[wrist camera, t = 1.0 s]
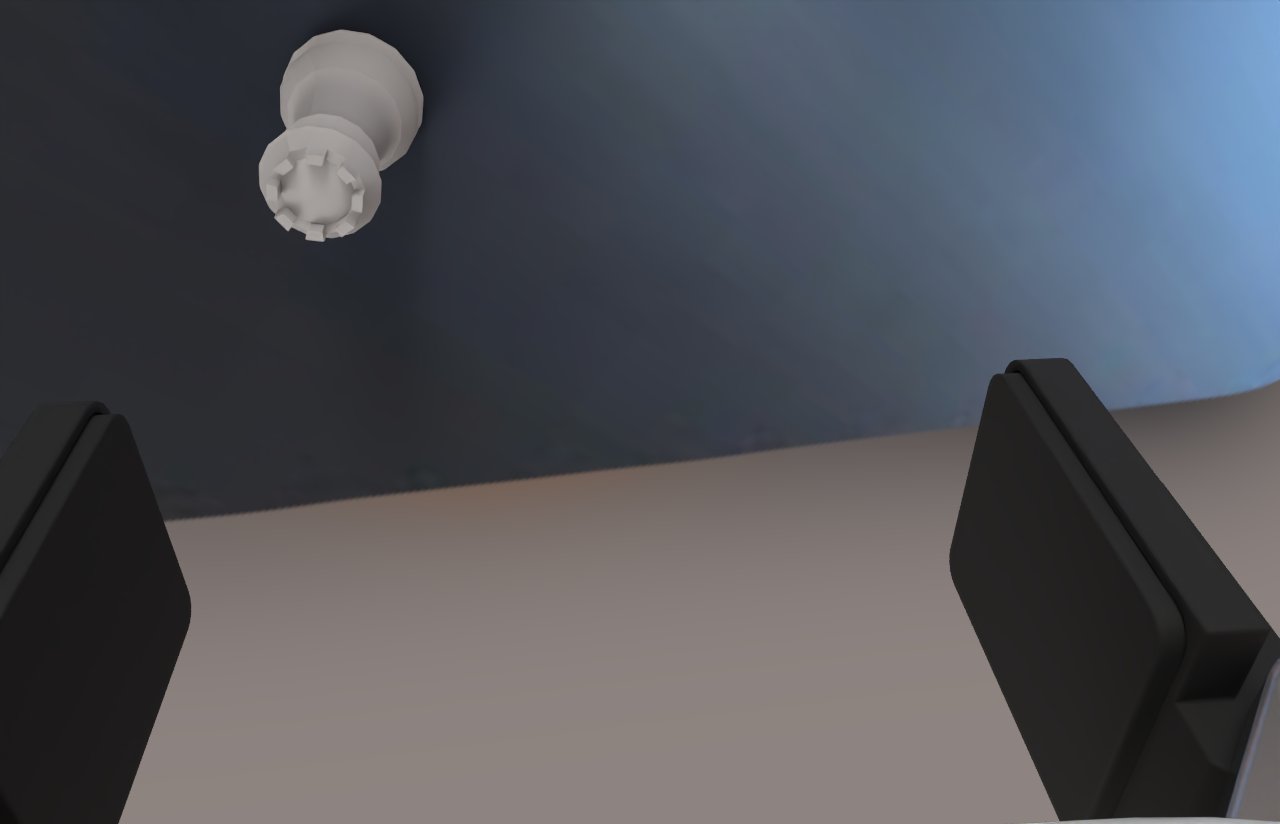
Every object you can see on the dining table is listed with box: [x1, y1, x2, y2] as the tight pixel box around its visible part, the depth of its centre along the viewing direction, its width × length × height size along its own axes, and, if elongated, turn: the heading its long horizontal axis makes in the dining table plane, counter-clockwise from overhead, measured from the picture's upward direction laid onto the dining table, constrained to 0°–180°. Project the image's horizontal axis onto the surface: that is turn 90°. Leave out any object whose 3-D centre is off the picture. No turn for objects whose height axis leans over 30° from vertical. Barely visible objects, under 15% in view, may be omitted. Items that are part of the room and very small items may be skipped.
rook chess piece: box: [259, 30, 423, 242], centre depth 31 cm, size 4×4×8 cm
